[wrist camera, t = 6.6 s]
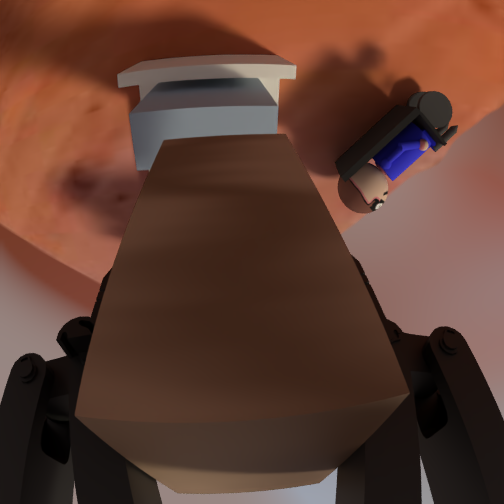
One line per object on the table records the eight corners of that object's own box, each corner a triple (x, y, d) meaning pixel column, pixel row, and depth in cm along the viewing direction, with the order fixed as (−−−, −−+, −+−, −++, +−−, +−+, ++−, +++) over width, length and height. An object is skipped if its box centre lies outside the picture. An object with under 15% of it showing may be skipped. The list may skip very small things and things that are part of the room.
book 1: (164, 116, 26) (137, 170, 17) (161, 79, 24) (129, 113, 15) (255, 112, 26) (275, 163, 18) (256, 75, 24) (278, 106, 16)
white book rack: (168, 264, 39) (162, 312, 33) (141, 61, 23) (117, 74, 18) (266, 260, 40) (274, 307, 34) (277, 55, 24) (296, 65, 19)
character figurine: (437, 113, 29) (343, 194, 35) (408, 64, 25) (303, 156, 31) (482, 145, 23) (371, 240, 30) (457, 88, 19) (329, 200, 26)
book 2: (185, 279, 16) (177, 493, 8) (163, 139, 11) (74, 415, 3) (277, 273, 16) (319, 483, 8) (285, 133, 11) (409, 393, 4)
